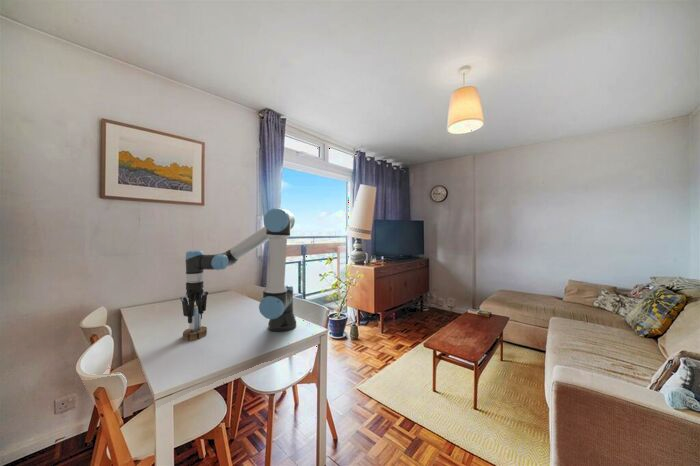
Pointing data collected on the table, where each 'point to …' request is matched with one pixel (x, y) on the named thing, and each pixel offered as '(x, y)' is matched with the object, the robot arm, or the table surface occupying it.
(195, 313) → the dowel
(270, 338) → the table surface
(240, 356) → the table surface
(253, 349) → the table surface
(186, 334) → the wooden gear
